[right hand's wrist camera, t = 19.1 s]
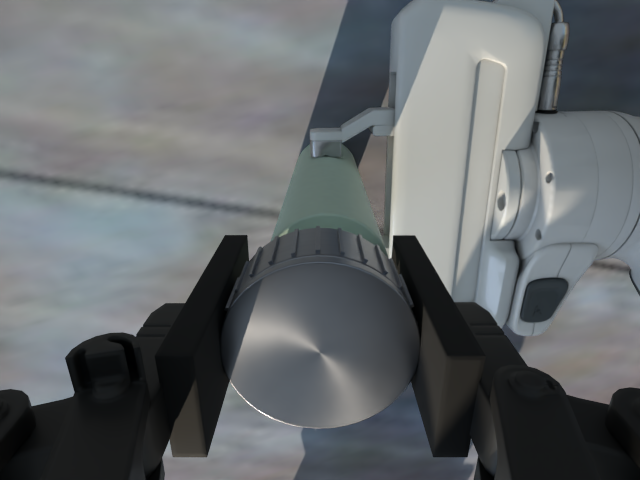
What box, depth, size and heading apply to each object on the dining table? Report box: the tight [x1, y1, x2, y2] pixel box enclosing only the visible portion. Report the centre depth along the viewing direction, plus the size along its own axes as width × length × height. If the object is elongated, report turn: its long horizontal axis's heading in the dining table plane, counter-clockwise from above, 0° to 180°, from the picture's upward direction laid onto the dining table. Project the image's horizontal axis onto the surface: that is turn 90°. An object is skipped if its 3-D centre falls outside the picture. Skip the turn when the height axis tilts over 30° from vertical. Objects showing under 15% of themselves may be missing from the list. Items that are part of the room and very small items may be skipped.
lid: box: [220, 226, 421, 429], centre depth 11 cm, size 5×5×2 cm
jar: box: [271, 144, 388, 257], centre depth 22 cm, size 4×4×20 cm
